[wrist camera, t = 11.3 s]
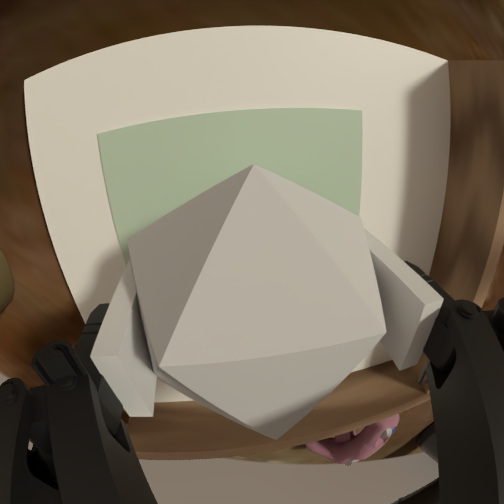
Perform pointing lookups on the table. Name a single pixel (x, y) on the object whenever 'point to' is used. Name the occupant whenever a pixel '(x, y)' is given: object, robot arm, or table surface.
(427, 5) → the table surface
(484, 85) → the wooden corner tray
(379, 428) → the video game controller
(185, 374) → the die
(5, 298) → the olive pawn figure
